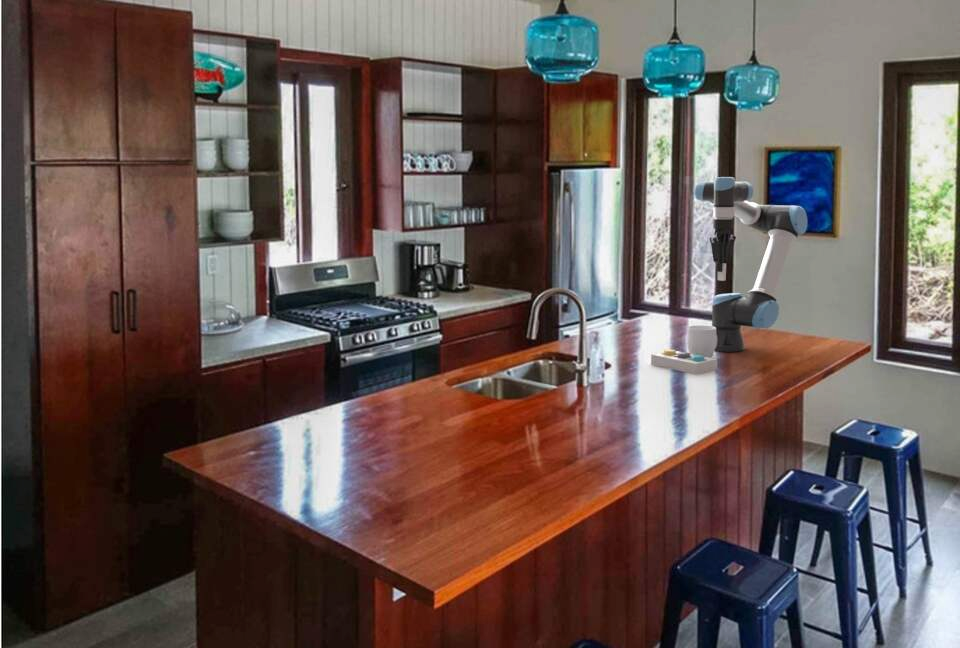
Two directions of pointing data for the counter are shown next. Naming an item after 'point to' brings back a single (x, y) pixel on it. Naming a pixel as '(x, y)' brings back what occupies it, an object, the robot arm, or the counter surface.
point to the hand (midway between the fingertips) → (721, 280)
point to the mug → (702, 340)
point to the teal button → (698, 358)
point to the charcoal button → (683, 355)
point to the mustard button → (669, 352)
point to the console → (683, 363)
